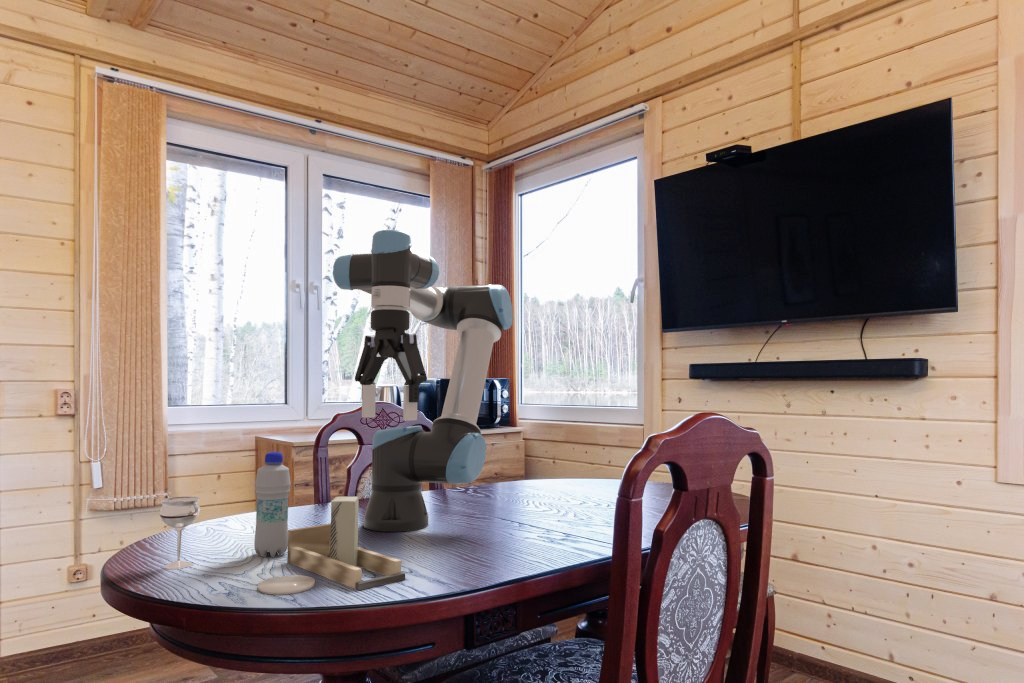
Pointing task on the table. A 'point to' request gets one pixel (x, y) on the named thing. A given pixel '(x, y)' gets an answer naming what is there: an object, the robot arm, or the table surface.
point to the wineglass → (179, 521)
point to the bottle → (272, 506)
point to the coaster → (286, 584)
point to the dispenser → (312, 552)
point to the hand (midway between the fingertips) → (388, 419)
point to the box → (344, 529)
